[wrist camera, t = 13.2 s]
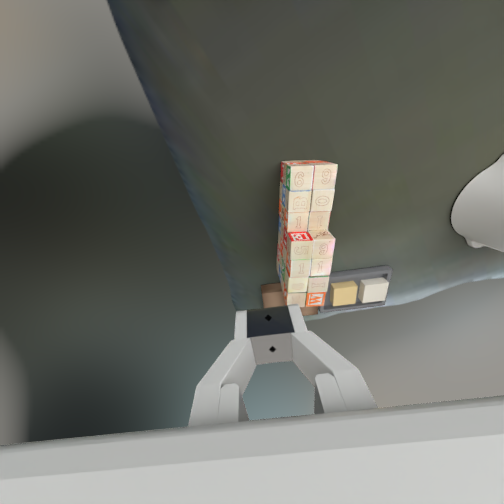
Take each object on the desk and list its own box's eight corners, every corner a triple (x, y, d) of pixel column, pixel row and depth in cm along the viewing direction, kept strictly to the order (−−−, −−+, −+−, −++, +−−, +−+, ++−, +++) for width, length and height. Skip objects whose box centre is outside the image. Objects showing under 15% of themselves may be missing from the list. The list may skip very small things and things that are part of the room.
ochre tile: (353, 280, 44) (357, 286, 43) (351, 297, 47) (355, 303, 45) (330, 283, 45) (334, 289, 43) (329, 300, 47) (333, 306, 45)
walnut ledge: (314, 278, 44) (318, 286, 42) (313, 304, 48) (317, 314, 46) (261, 285, 45) (261, 293, 42) (264, 310, 49) (265, 320, 46)
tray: (387, 265, 43) (392, 269, 42) (380, 299, 48) (384, 305, 46) (318, 274, 44) (321, 278, 42) (317, 307, 49) (320, 312, 47)
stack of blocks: (279, 160, 33) (296, 167, 22) (317, 159, 33) (351, 165, 22) (276, 268, 43) (286, 309, 32) (304, 267, 43) (324, 307, 32)
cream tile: (365, 285, 43) (360, 280, 44) (362, 303, 45) (357, 297, 47) (389, 282, 42) (383, 277, 44) (384, 300, 45) (379, 294, 46)
